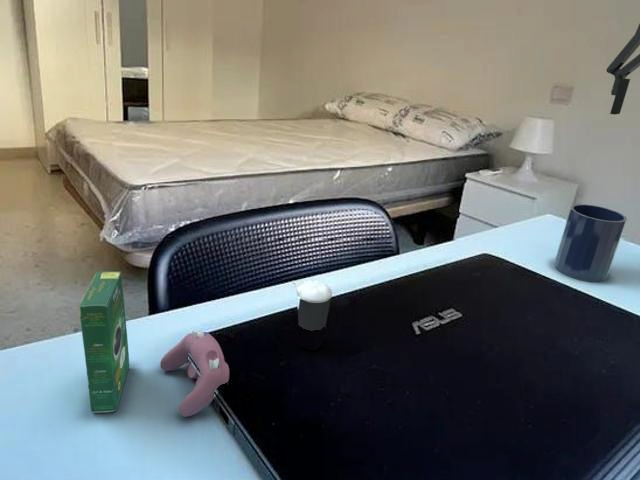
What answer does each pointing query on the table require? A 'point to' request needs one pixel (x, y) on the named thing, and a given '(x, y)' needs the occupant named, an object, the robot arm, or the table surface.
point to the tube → (589, 242)
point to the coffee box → (105, 340)
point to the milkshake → (313, 304)
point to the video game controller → (209, 365)
